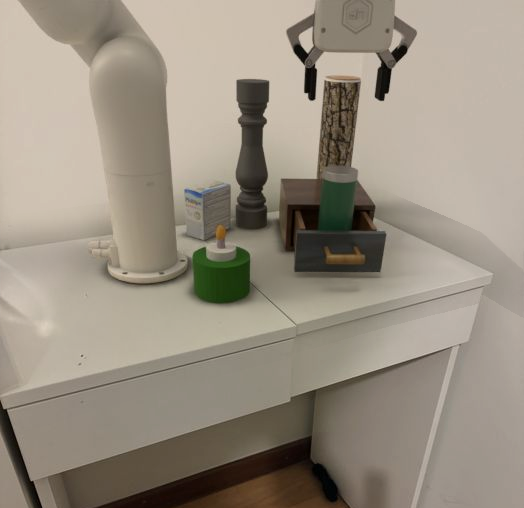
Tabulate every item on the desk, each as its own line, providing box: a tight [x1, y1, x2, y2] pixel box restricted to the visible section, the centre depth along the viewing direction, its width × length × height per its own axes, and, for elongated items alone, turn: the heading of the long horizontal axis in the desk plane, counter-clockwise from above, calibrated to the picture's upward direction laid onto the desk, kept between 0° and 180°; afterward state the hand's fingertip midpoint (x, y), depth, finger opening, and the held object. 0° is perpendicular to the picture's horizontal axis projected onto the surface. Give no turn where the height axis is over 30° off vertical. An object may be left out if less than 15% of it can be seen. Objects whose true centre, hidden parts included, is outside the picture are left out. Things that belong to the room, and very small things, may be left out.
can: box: [318, 165, 359, 231], centre depth 82 cm, size 5×5×13 cm
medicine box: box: [183, 179, 232, 241], centre depth 94 cm, size 8×4×9 cm, turn 144°
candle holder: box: [235, 78, 270, 230], centre depth 95 cm, size 6×6×25 cm
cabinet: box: [278, 178, 376, 252], centre depth 95 cm, size 16×15×8 cm
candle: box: [191, 225, 251, 304], centre depth 74 cm, size 8×8×10 cm
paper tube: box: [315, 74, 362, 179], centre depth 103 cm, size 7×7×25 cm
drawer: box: [292, 209, 388, 273], centre depth 83 cm, size 20×14×6 cm
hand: (345, 99), depth 73 cm, fingers open, 9 cm apart
